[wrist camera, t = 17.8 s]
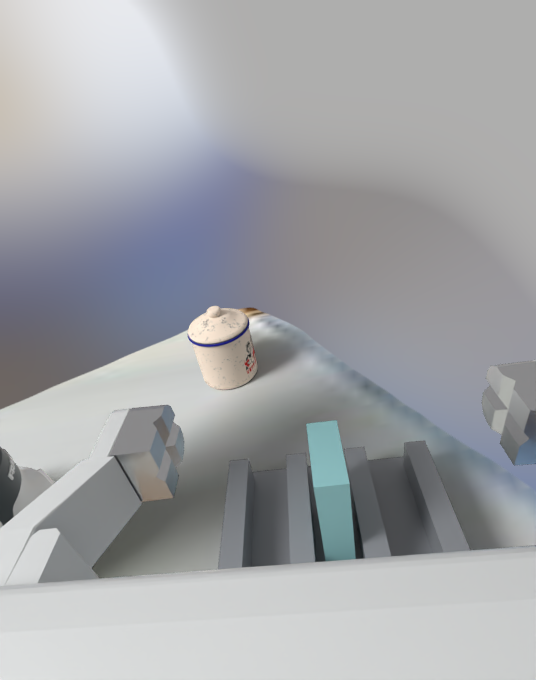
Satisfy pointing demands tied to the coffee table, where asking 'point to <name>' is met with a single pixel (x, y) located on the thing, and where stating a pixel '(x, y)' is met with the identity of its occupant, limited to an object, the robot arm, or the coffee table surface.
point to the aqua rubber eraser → (331, 490)
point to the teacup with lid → (223, 347)
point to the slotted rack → (366, 502)
